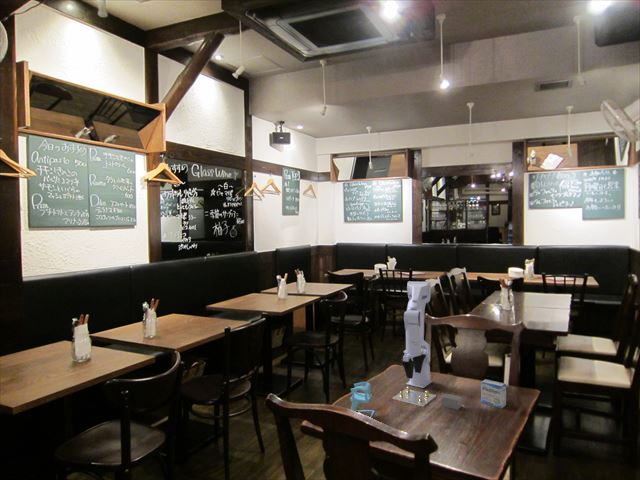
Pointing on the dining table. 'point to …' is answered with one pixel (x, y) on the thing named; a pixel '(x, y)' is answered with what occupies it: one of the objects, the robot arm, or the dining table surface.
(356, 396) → the chair
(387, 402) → the dining table surface
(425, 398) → the plate with brass knobs
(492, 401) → the medicine box
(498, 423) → the dining table surface
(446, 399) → the plain grey block
